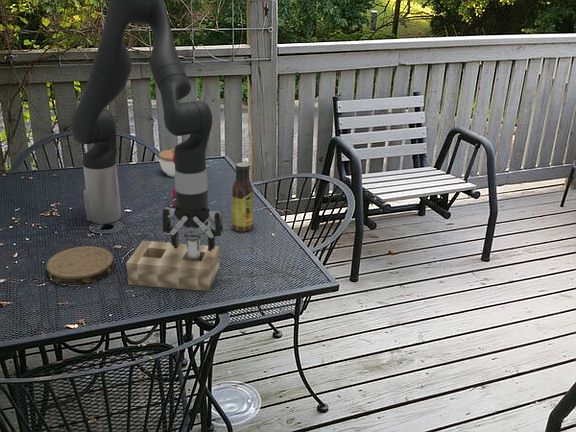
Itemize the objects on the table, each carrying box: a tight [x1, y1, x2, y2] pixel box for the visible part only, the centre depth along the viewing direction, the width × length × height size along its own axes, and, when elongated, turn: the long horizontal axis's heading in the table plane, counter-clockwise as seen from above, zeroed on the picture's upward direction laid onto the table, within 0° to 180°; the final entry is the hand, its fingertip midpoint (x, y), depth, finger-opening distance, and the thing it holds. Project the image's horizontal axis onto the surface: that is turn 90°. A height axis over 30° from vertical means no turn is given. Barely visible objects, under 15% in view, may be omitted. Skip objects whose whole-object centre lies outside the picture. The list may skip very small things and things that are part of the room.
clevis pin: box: [183, 229, 203, 261], centre depth 143 cm, size 4×4×12 cm
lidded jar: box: [158, 148, 175, 178], centre depth 210 cm, size 11×11×9 cm
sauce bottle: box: [231, 162, 254, 233], centre depth 168 cm, size 7×6×20 cm
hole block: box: [126, 240, 220, 292], centre depth 145 cm, size 20×12×6 cm, turn 84°
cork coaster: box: [46, 245, 115, 286], centre depth 147 cm, size 16×16×3 cm
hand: (193, 248), depth 142 cm, fingers open, 8 cm apart
